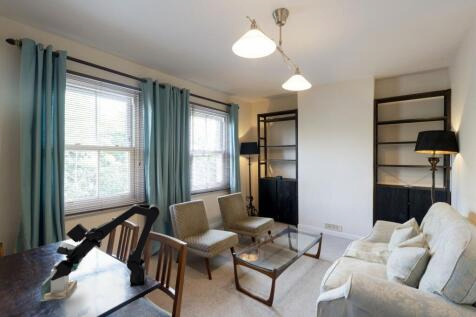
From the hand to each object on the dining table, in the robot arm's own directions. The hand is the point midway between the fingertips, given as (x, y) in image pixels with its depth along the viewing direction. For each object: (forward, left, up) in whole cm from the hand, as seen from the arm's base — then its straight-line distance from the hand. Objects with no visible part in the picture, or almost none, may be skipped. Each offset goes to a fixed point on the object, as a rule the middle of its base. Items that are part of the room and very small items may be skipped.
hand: (56, 274), depth 106 cm
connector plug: (-1, 0, -8) cm, 8 cm away
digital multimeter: (+6, -28, -9) cm, 30 cm away
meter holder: (-1, 0, -9) cm, 9 cm away
